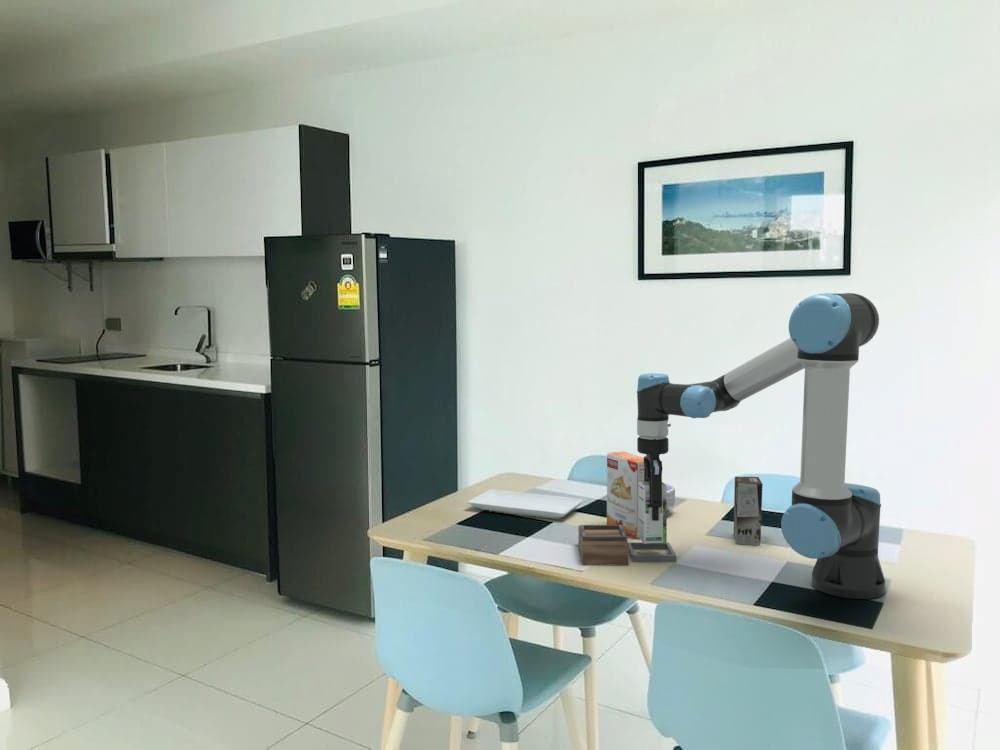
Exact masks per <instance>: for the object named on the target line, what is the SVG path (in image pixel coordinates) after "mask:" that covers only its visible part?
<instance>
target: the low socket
mask: <svg viewBox="0 0 1000 750" xmlns="http://www.w3.org/2000/svg"><path fill="white" fill-rule="evenodd" d="M628 544H629V557H630V559H631V562H638V561H640V562H642V561H643V562H645V563H647V562H649V563H650V562H653V563H655V562H658V563H662V562H661V561H664V562H663V563H665V561H666V562H667V561H668V562H669V563H673V562H674V563H677V555H676V552H675V551H674V549H673V546H672V545H671V544H670V542H668V541H667V542H666V543H648V544H644V543H643V542H642V541H641V542H640V541H639V542H638V541H637V542H636V541H634V542H633V541H628ZM666 549H667V550H666ZM634 550H666V552H667V551H668V552H667V553H668V554H645V553H644V554H636V553H635V551H634ZM668 562H667V563H668Z"/></svg>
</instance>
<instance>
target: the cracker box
mask: <svg viewBox="0 0 1000 750" xmlns="http://www.w3.org/2000/svg"><path fill="white" fill-rule="evenodd" d="M606 456H607V457H606V472H607V473H606V525H622V527H623V529H624V532H625V534H626V536H630V537H632V538H633V539H635V538H636V539H635V540H639V539H640V538H639V482H644V456H643V457H642V456H639V455H636V454H633V453H630V452H626V451H615V452H613V451H612V452H609V453H608V452H607V453H606Z"/></svg>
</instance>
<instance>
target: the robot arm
mask: <svg viewBox="0 0 1000 750" xmlns="http://www.w3.org/2000/svg"><path fill="white" fill-rule="evenodd" d="M789 316H790V317H789V321H788V333H789V336H790V338H788V339H786V340H784V341H782V342H780V343H778V344H777V345H775V346H773V347H771V348H769V349H768V350H766V351H764V352H763V353H761V354H759V355H757V356H755V357H754V358H751V359H750V360H748V361H746V362H745V363H742V364H741V365H739V366H737V367H736V368H734V369H731V370H730V371H728V372H726V373H725V374H723V375H721V376H719V377H717V378H716V379H714V380H711V381H705V382H704V381H703V382H698V383H690V384H687V383H686V384H681V383H680V384H679V383H671V382H670V378H669V375H668V374H666V373H656V372H655V373H652V372H651V373H642V374H640V375H639V376H638V379H637V390H636V394H637V395H636V396H637V397H636V398H637V401H636V402H637V419H636V430H637V431H636V434H637V435H638V437H637V439H636V443H637V446H636V447H637V449H636V451H637V453H639V454H642V455H645V456H643V458H644V482H649V493H650V505H647V507H649V533H660V518H661V507H662V482H663V461H662V460H661V459H660V455H665V454H668V452H669V438H668V436H669V428H670V427H671V426H672V424H671V422H669V419H670V417H669V416H670V415H672V416H678V417H687V418H691V419H706V418H709V417H710V416H711V414H713V413H718V412H726V411H729V410H732V409H734V408H736V407H738V406H739V405H740V403H741V402H743V401H744V400H745V399H747V398H750V397H752V396H754V395H756V394H757V393H759V392H761V391H763V390H765V389H767V388H768V387H771V386H773V385H776V384H777V383H779V382H781V381H783V380H785V379H786V378H789V377H790V376H793V375H795V374H796V373H798V372H800V371H802V370H804V380H803V381H804V384H803V409H802V427H801V428H802V432H801V452H800V455H801V456H800V475H799V476H800V478H799V479H800V481H798V482H797V483H796V484H795V485H794V486H793V487H792V488H791V506H789V507H788V508H787V509H786V510H785V511H784V512H783V515H782V518H781V520H780V522H781V523H780V527H781V528H780V529H781V534H782V536H783V537H784V540H785V541H786V543H787V544H788V545H789V546H790V547H791V550H793V551H794V552H795V553H796V554H798V555H800V556H803V557H805V558H807V559H812V560H816V561H815V564H814V567H813V569H812V571H811V579H810V581H811V582H810V583H811V585H812V587H813V588H814V589H816V590H818V591H820V592H822V593H825V594H827V595H831V596H834V597H839V598H844V599H852V600H869V599H876V598H880V597H882V596H884V595H885V594H886V579H885V575H884V571H883V569H882V566H881V563H880V558H879V539H880V525H881V524H880V522H881V521H880V519H881V518H880V517H881V507H882V503H881V494H880V492H879V490H878V489H876V488H874V487H871V486H866V485H862V484H856V483H848V482H845V480H846V479H845V478H846V457H847V456H846V455H847V438H848V416H849V415H848V414H849V397H850V395H849V393H850V392H849V391H850V377H851V376H850V374H851V373H850V371H851V368H852V367H854V366H855V365H856V364H857V363H858V362H859V356H860V355H859V354H860V347H862V346H864V345H866V344H868V343H869V342H870V341H871V340H872V339H873V338H874V336H875V335H876V334H877V331H878V329H879V325H880V316H879V312H878V310H877V307H876V306H875V304H874V303H873V302H872V301H871V300H870V299H869V298H867V297H866V296H864V295H861V294H857V293H853V292H852V293H851V292H847V293H846V292H845V293H836V292H835V293H834V292H833V293H831V292H830V293H829V292H826V293H817V294H814V295H810V296H808V297H806V298H804V299H802V300H801V301H800V302H799V303H798V304H797V305H796V306H795V307H794V309H793V310H792V312H791V314H790V315H789ZM655 501H658V502H655Z"/></svg>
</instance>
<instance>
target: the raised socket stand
mask: <svg viewBox="0 0 1000 750" xmlns="http://www.w3.org/2000/svg"><path fill="white" fill-rule="evenodd" d="M577 538H578V540H577V541H578V549H579V554H580V559H581V565H582V566H589V565H588V564H593V565H592V566H601V565H600V564H617V565H616V566H629V565H630V564H629V563H630V562H629V561H630V560H629V557H630V554H629V544H628V542H629V541H628V538H627V534H625V532H624V529H623V527H622V525H607V524H580V525H578V537H577ZM595 564H596V565H595ZM618 564H620V565H618ZM622 564H623V565H622Z"/></svg>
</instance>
